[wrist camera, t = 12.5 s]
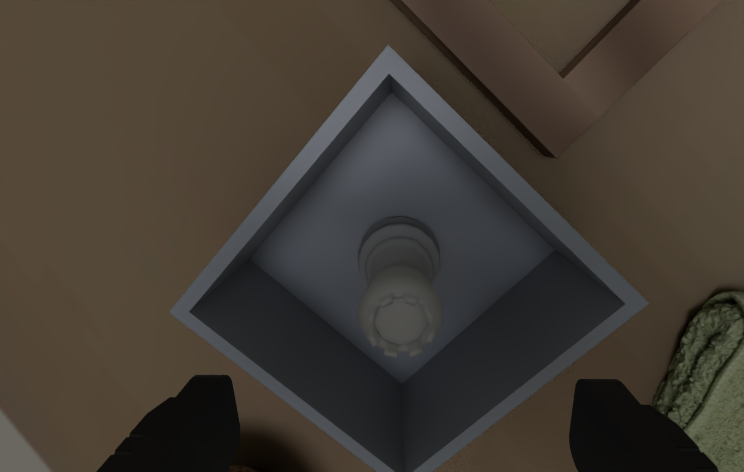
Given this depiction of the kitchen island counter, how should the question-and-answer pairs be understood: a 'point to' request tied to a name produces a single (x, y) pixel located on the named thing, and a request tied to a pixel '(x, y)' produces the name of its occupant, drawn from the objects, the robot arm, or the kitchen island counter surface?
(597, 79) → the socket block
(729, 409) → the washcloth
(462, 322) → the bin
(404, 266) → the rook chess piece
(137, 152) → the kitchen island counter surface
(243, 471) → the natural sponge
